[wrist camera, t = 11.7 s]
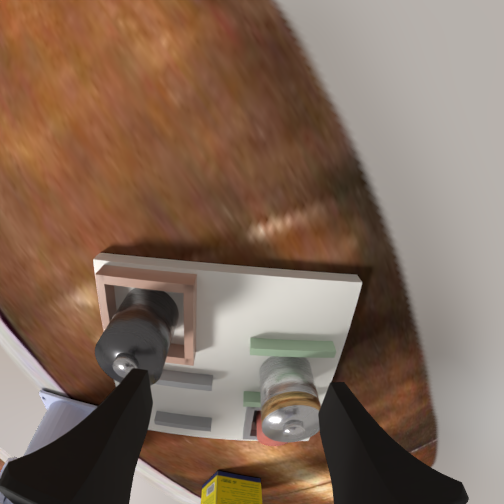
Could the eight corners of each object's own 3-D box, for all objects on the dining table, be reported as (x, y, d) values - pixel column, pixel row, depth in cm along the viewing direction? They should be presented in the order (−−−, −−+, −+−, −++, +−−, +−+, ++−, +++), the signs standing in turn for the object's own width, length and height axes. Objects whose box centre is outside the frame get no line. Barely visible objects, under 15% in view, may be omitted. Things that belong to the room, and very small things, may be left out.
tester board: (306, 431, 28) (310, 452, 25) (129, 416, 27) (123, 436, 24) (357, 274, 21) (370, 293, 19) (100, 252, 20) (83, 268, 18)
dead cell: (179, 337, 21) (162, 399, 16) (127, 330, 21) (98, 387, 16) (178, 289, 20) (156, 346, 14) (121, 282, 20) (84, 334, 14)
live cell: (303, 390, 24) (314, 449, 18) (254, 387, 23) (256, 448, 18) (317, 354, 22) (334, 414, 17) (264, 349, 22) (269, 413, 16)
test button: (288, 424, 26) (291, 445, 24) (254, 423, 26) (255, 445, 23) (294, 403, 25) (298, 426, 22) (258, 402, 25) (259, 425, 22)
